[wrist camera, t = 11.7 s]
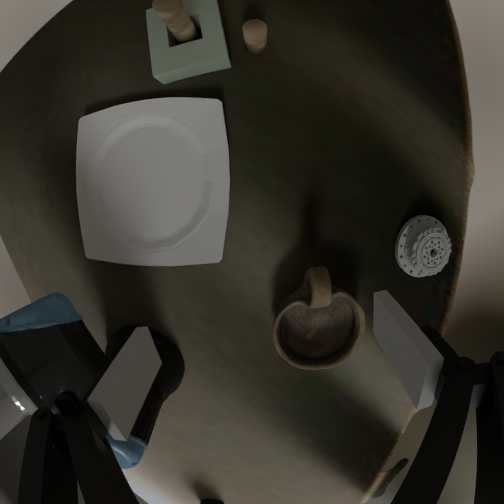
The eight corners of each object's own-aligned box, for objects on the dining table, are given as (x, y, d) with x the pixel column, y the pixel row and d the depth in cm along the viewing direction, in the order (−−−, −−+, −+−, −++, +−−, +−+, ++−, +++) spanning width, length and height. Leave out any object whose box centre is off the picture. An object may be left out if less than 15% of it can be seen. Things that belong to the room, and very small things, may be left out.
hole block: (163, 84, 36) (153, 76, 31) (155, 22, 32) (145, 10, 28) (231, 67, 35) (227, 56, 30) (218, 5, 31) (214, -9, 27)
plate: (82, 114, 37) (73, 112, 34) (232, 95, 36) (230, 90, 34) (89, 259, 44) (81, 264, 41) (231, 264, 43) (229, 270, 41)
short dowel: (247, 55, 34) (244, 39, 28) (243, 38, 33) (240, 21, 28) (268, 52, 34) (269, 35, 28) (264, 35, 33) (264, 17, 27)
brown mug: (274, 354, 47) (276, 394, 38) (264, 256, 42) (265, 282, 33) (353, 344, 46) (370, 380, 37) (356, 246, 42) (380, 269, 32)
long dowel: (182, 52, 34) (153, 14, 22) (179, 36, 33) (151, -4, 21) (202, 47, 34) (179, 6, 21) (199, 31, 33) (177, -12, 20)
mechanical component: (438, 206, 39) (388, 225, 41) (453, 211, 35) (400, 232, 36) (446, 261, 42) (399, 282, 43) (460, 270, 38) (411, 293, 39)
